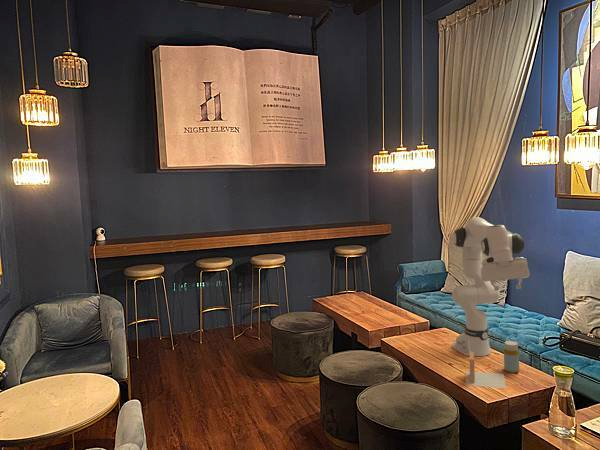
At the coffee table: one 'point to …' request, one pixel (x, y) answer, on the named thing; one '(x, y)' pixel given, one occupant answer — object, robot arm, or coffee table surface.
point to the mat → (486, 379)
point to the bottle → (511, 357)
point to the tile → (472, 368)
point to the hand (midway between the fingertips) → (507, 289)
